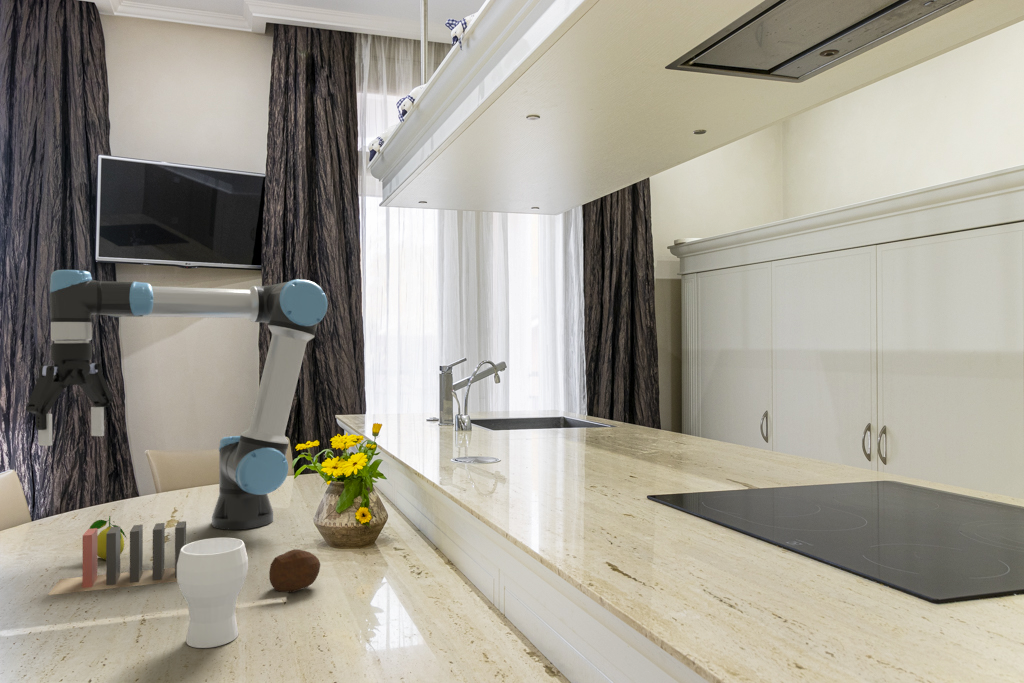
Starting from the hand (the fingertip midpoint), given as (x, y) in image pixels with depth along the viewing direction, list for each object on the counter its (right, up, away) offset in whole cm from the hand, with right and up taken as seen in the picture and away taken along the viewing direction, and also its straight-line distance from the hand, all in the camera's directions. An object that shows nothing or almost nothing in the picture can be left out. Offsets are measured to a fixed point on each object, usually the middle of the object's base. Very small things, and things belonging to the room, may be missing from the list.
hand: (72, 440), depth 150 cm
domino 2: (+16, -26, -13) cm, 33 cm away
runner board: (+19, -27, -12) cm, 35 cm away
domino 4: (+24, -26, -10) cm, 37 cm away
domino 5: (+28, -26, -9) cm, 39 cm away
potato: (+53, -27, -16) cm, 61 cm away
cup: (+46, -27, -37) cm, 65 cm away
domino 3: (+20, -26, -12) cm, 35 cm away
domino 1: (+13, -26, -15) cm, 32 cm away
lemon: (+7, -27, 0) cm, 28 cm away
